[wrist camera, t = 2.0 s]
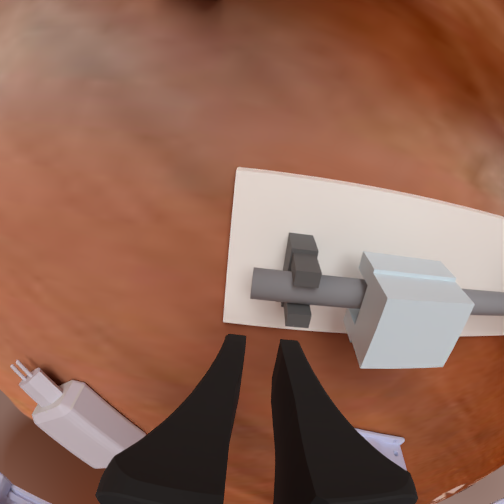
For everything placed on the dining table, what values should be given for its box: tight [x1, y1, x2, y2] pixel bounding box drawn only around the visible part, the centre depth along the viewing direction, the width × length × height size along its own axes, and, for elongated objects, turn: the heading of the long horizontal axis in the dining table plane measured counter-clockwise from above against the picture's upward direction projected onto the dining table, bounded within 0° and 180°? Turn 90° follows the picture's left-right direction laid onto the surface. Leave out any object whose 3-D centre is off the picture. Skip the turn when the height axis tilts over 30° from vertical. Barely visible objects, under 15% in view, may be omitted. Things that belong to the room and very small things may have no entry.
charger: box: [10, 360, 146, 468], centre depth 26 cm, size 5×9×15 cm
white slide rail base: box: [223, 167, 504, 336], centre depth 18 cm, size 29×10×6 cm, turn 84°
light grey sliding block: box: [343, 251, 475, 369], centre depth 15 cm, size 5×4×4 cm
